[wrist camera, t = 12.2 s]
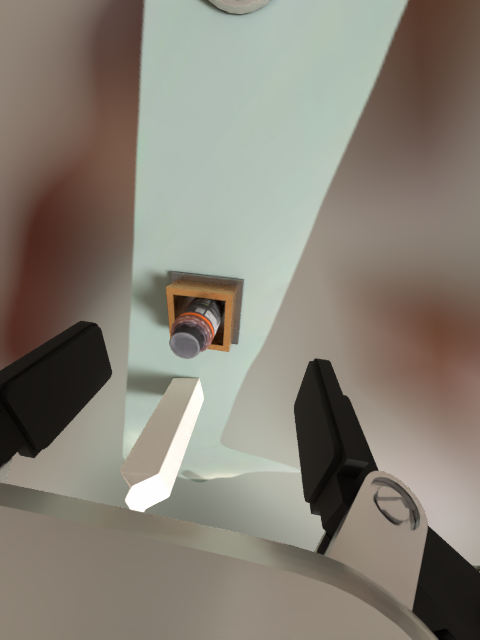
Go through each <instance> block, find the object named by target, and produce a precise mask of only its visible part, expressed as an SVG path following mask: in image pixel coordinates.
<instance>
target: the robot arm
mask: <svg viewBox="0 0 480 640" xmlns="http://www.w3.org/2000/svg"><path fill="white" fill-rule="evenodd" d="M208 1H210V2H211V3H212V4H214V5H215V6H216V7H218V8H219V9H221V10H224V11H226V12H229V13H236V14H244V13H249V12H254V11H256V10H258V9H260V8H262V7H263V6H265V5H266V4H268V3H269V2H270V1H271V0H239V1H237V0H208ZM111 375H112V369H111V365H110V362H109V358H108V354H107V350H106V346H105V342H104V339H103V335H102V331H101V329H100V327H98V325H97V324H96V323H92V322H85V321H80V322H78V323H76V324H75V325H73V326H71V327H70V328H68V329H67V330H65V331H63V332H62V333H60V334H59V335H57V336H55V337H54V338H52V339H50V340H49V341H47V342H46V343H44V344H42V345H41V346H39V347H38V348H36V349H34V350H33V351H31V352H30V353H28V354H26V355H25V356H23V357H22V358H20V359H19V360H17V361H15V362H14V363H12V364H11V365H9V366H7V367H5V368H4V369H2V370H1V371H0V640H480V572H479V571H477V570H476V569H475V568H474V567H473V566H472V565H471V564H470V563H469V562H468V561H466V560H465V559H464V558H463V557H462V556H461V555H460V554H459V553H458V552H456V551H455V550H454V549H453V548H452V547H451V546H450V545H449V544H448V543H447V542H446V541H444V540H443V539H442V538H441V537H440V536H439V535H438V534H437V533H436V532H435V531H433V530H432V529H431V528H430V527H429V526H428V524H427V517H426V514H425V511H424V509H423V507H422V505H421V503H420V502H419V500H418V498H417V497H416V496H415V494H414V493H413V492H412V491H411V490H410V488H408V487H407V486H406V485H405V484H404V483H403V482H402V481H401V480H399V479H398V478H396V477H394V476H393V475H391V474H388V473H386V472H384V471H379V470H378V468H377V466H376V463H375V461H374V458H373V456H372V453H371V451H370V449H369V446H368V443H367V441H366V438H365V436H364V434H363V431H362V429H361V426H360V424H359V421H358V419H357V416H356V414H355V411H354V409H353V407H352V404H351V402H350V400H349V398H348V397H347V396H345V395H343V393H342V391H341V388H340V386H339V383H338V380H337V378H336V375H335V373H334V370H333V367H332V365H331V362H330V361H329V360H322V359H314V361H310V362H309V364H308V366H307V369H306V372H305V375H304V378H303V381H302V384H301V387H300V390H299V392H298V395H297V398H296V401H295V405H294V414H295V423H296V432H297V440H298V448H299V457H300V466H301V474H302V483H303V492H304V498H305V501H306V502H308V503H310V509H311V514H315V515H320V516H321V521H322V526H323V529H324V530H325V532H324V534H323V536H322V538H321V539H320V541H319V543H318V545H317V547H316V549H315V551H314V552H312V551H309V550H305V549H302V548H299V547H295V546H292V545H288V544H284V543H279V542H275V541H271V540H267V539H263V538H258V537H254V536H250V535H246V534H242V533H237V532H233V531H228V530H223V529H219V528H214V527H210V526H205V525H201V524H196V523H191V522H187V521H182V520H177V519H173V518H168V517H163V516H158V515H154V514H149V513H145V512H140V511H135V510H130V509H126V508H121V507H116V506H111V505H106V504H102V503H96V502H92V501H87V500H82V499H78V498H73V497H68V496H63V495H58V494H54V493H49V492H44V491H39V490H34V489H29V488H24V487H19V486H14V485H10V484H6V483H7V479H8V474H9V469H10V465H11V461H12V457H13V456H14V455H15V454H16V452H18V453H19V454H20V455H21V456H26V457H31V458H35V457H36V456H37V455H38V453H39V452H40V451H41V450H42V449H45V448H46V447H48V446H49V445H50V444H51V443H52V442H53V440H54V439H55V438H56V437H57V436H58V435H59V434H60V433H61V432H62V431H63V430H64V428H65V427H66V426H67V425H68V424H69V423H70V422H71V421H72V420H73V419H74V418H75V416H76V415H77V414H78V413H79V412H80V411H81V410H82V409H83V408H84V407H85V405H86V404H87V403H88V402H89V401H90V400H91V399H92V398H93V397H94V395H95V394H96V393H97V392H98V391H99V390H100V389H101V388H102V387H103V386H104V385H105V383H106V382H107V381H108V380H109V379H110V377H111Z"/></svg>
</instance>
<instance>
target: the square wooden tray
mask: <svg viewBox="0 0 480 640" xmlns="http://www.w3.org/2000/svg"><path fill="white" fill-rule="evenodd" d="M170 277H171V284H170V285H168V286H167V287H166V294H167V306H168V317H169V329H170V338H171V327H172V324H173V322H174V321H175V320H176V319H177V317H178V316H179V315H180V314H181V313H182V311H183V310H184V309H185V308H186V307H187V306H188V305H189V303H190V302H191V301H192V300H193V299H194V298H196V297H199V298H207V299H215V300H218V301H219V303H220V304H221V306H222V309H223V316H222V319H221V322H220V324H219V327H218V329H217V331H216V333H215V336H214V338H213V340H212V342H211V344H210V346H209V347H208V348H207V349H212V350H220V351H227V352H229V350H230V346H231V344H238V340H239V329H240V318H241V307H242V296H243V285H244V280H243V279H234V278H226V277H217V276H208V275H199V274H191V273H182V272H171V273H170Z"/></svg>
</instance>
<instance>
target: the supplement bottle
mask: <svg viewBox="0 0 480 640" xmlns="http://www.w3.org/2000/svg"><path fill="white" fill-rule="evenodd" d="M222 316H223V309H222V306H221V304H220V303H219V301H218V300H215V299H207V298H199V297H196V298H194V299H193V300H192V301H191V302H190V303H189V305H188V306H187V307H186V308H185V309H184V310H183V311H182V313H181V314H180V315H179V316H178V317H177V319H176V320H175V321H174V322H173V324H172V327H171V338H170V342H169V344H170V348H171V350H172V351H173V352H174V353H175V354H176V355H177V356H179V357H181V358H185V359H190V358H193V357H195V356H196V355H198V353H199V352H202V351H204V350H206V349H207V348H208V347H209V346H210V344H211V342H212V340H213V338H214V336H215V333H216V331H217V329H218V327H219V324H220V322H221V319H222Z"/></svg>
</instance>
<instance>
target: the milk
mask: <svg viewBox="0 0 480 640" xmlns="http://www.w3.org/2000/svg"><path fill="white" fill-rule="evenodd" d="M203 400H204V396H203V392H202V388H201V384H200V379H199V378H173V380H172V381H171V383H170V385H169V387H168V388H167V390H166V392H165V393H164V395H163V397H162V399H161V400H160V402H159V404H158V405H157V407H156V409H155V411H154V412H153V414H152V416H151V417H150V419H149V421H148V423H147V424H146V426H145V428H144V430H143V431H142V433H141V435H140V436H139V438H138V440H137V442H136V443H135V445H134V447H133V448H132V450H131V452H130V454H129V455H128V457H127V459H126V460H125V462H124V464H123V466H122V467H121V469H120V472H121V474H122V475H123V477H124V479H125V481H126V482H127V484H128V486H129V487H130V490H129V492H128V494H127V496H126V499H125V502H126V503H127V505H128V507H129V508H130V510H135V511H140V512H144V510H145V509H146V508H148V507H150V506H152V505H154V504H156V503H158V502H160V501H162V500H164V499H166V498H168V497H169V496H170V493H171V490H172V487H173V485H174V482H175V479H176V476H177V473H178V470H179V468H180V465H181V462H182V459H183V456H184V454H185V451H186V448H187V445H188V442H189V439H190V437H191V434H192V431H193V428H194V425H195V422H196V420H197V417H198V414H199V411H200V408H201V405H202V403H203Z"/></svg>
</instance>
